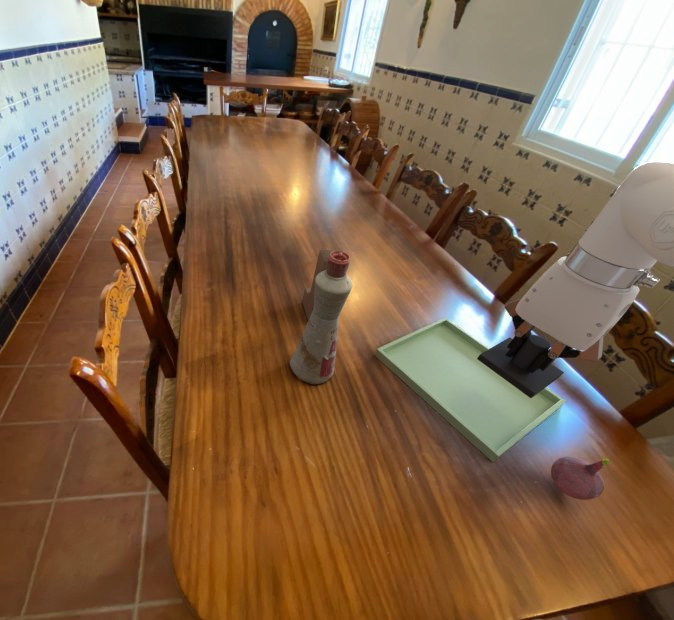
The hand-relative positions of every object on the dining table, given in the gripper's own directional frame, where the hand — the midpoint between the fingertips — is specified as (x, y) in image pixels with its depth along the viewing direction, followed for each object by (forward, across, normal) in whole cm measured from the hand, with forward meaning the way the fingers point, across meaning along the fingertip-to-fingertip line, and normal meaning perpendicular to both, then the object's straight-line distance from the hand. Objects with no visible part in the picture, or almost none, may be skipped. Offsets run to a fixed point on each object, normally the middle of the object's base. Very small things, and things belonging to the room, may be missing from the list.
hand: (523, 360), depth 58 cm
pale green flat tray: (+16, +7, -6) cm, 18 cm away
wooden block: (+16, +38, +9) cm, 42 cm away
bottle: (+16, +24, +22) cm, 36 cm away
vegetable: (+16, -15, +1) cm, 22 cm away
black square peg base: (+2, 0, 0) cm, 2 cm away
